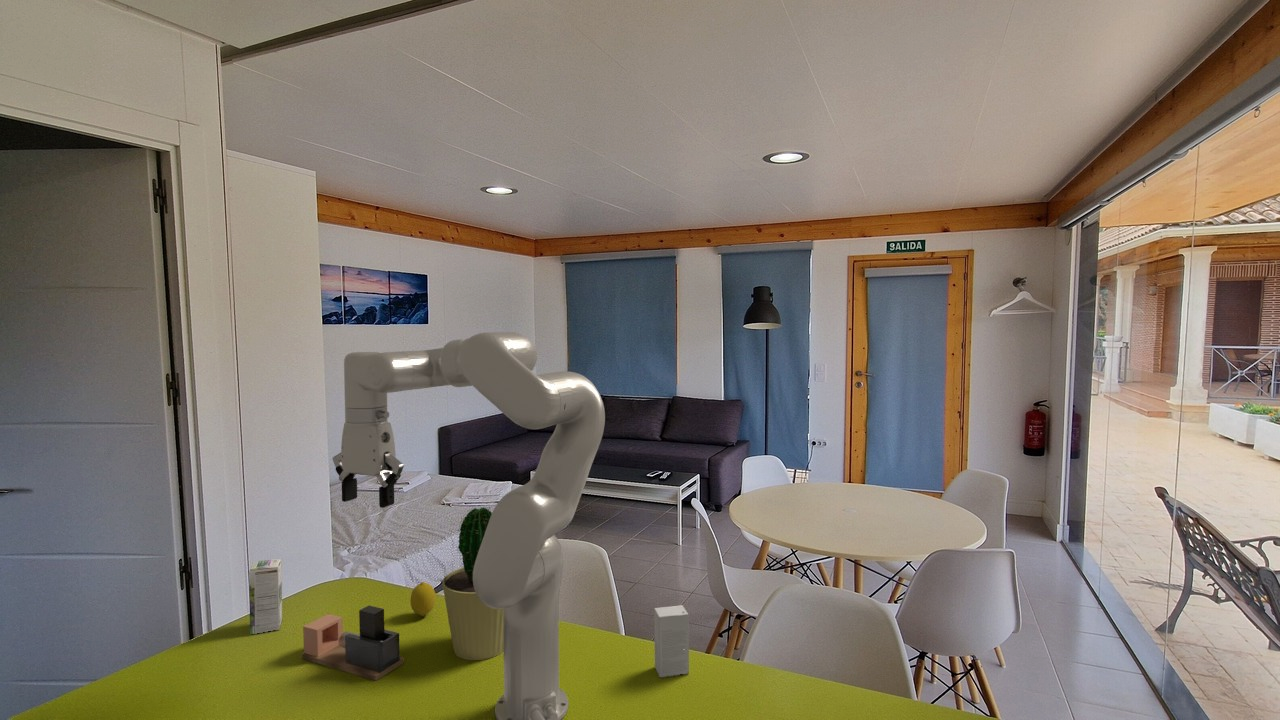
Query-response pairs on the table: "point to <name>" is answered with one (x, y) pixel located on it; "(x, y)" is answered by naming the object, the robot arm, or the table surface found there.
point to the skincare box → (671, 640)
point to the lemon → (423, 599)
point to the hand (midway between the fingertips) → (368, 502)
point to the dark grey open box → (372, 651)
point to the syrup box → (265, 596)
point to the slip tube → (368, 625)
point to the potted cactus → (472, 598)
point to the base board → (338, 661)
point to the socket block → (322, 635)
